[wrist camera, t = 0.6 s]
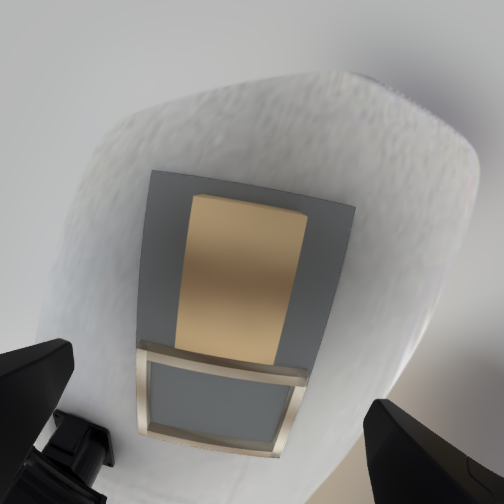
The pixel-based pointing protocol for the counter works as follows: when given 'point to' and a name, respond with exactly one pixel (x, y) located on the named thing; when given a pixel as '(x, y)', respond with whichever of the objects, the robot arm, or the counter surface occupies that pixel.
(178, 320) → the tile
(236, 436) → the mat
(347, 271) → the counter surface
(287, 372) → the frame
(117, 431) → the counter surface
